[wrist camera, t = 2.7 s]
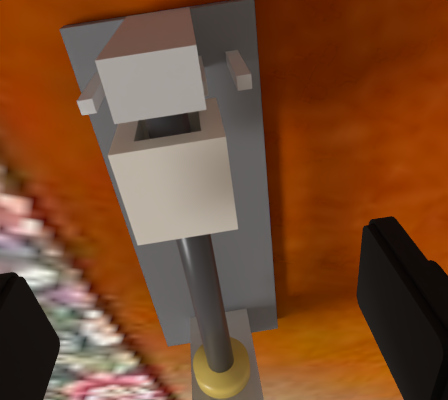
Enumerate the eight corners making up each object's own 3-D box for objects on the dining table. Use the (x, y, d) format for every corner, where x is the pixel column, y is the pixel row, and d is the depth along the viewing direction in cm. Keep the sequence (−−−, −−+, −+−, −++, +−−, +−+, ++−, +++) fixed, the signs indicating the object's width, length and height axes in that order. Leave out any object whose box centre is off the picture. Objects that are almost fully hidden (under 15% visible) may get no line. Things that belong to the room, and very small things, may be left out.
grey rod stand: (63, 25, 18) (-13, 80, 11) (251, -3, 18) (300, 31, 11) (168, 337, 32) (165, 455, 24) (275, 320, 32) (304, 432, 24)
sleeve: (122, 112, 16) (107, 155, 13) (215, 97, 16) (225, 136, 13) (144, 191, 18) (137, 245, 15) (227, 177, 18) (238, 229, 15)
